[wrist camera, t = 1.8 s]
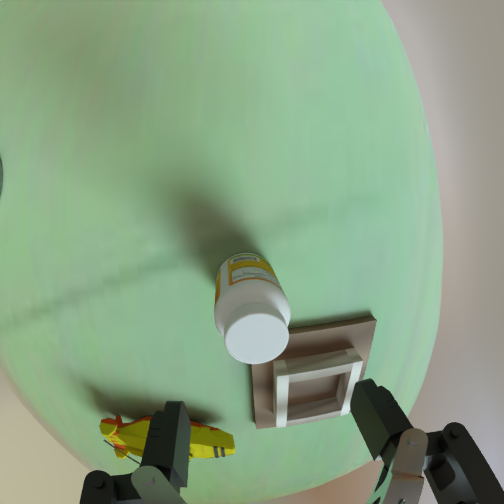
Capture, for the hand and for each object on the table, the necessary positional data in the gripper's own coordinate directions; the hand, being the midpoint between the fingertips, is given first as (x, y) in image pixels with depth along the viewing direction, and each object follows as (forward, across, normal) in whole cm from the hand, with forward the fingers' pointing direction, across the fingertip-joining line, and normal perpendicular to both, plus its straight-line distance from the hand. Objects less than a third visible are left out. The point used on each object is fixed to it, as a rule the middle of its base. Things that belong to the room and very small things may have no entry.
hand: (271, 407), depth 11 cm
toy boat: (+15, +12, +21) cm, 29 cm away
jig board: (+15, -7, +14) cm, 22 cm away
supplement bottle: (+15, 0, 0) cm, 15 cm away
